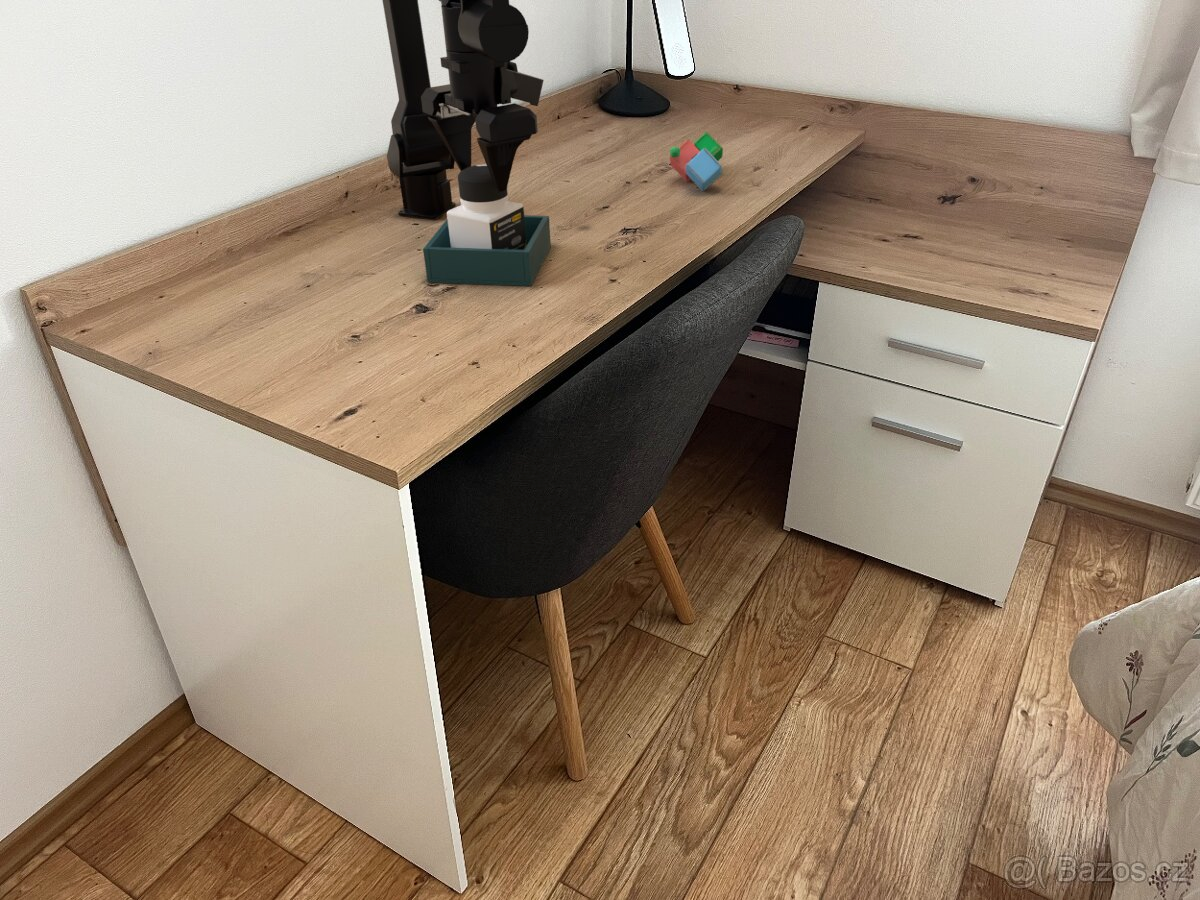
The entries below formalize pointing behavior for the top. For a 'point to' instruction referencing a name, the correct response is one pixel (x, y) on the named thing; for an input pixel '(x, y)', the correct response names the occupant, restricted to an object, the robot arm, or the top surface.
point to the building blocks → (698, 160)
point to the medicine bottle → (485, 214)
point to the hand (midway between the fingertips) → (483, 182)
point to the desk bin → (488, 258)
